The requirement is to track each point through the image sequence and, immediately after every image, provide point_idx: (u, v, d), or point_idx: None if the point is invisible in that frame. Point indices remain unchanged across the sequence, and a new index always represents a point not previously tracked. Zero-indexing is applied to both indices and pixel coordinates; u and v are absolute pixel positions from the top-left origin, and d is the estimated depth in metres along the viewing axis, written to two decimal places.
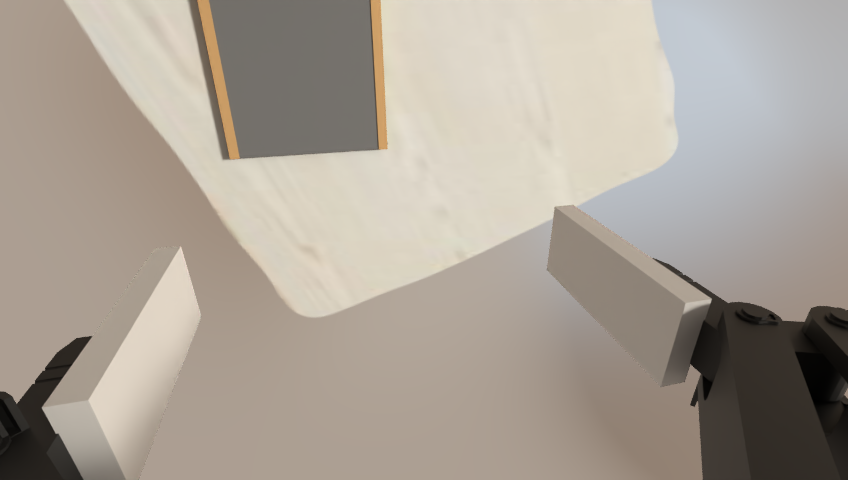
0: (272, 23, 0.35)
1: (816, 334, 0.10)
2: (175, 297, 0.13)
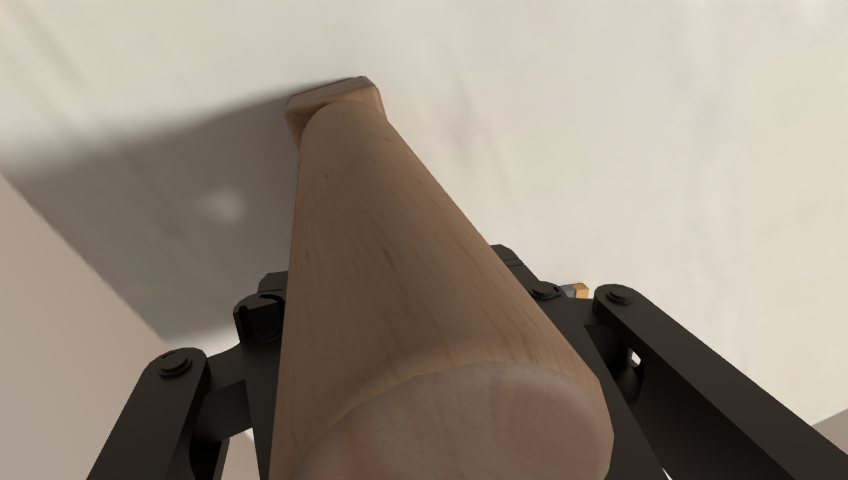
0: None
1: (605, 315, 0.11)
2: None
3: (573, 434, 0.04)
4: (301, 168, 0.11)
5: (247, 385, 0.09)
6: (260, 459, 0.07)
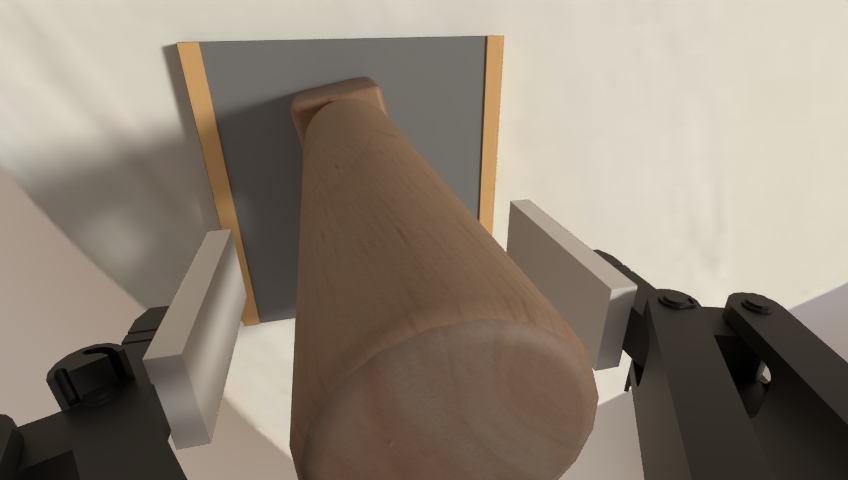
0: None
1: (736, 321, 0.11)
2: (229, 275, 0.14)
3: (563, 390, 0.05)
4: (308, 160, 0.12)
5: (78, 464, 0.07)
6: None
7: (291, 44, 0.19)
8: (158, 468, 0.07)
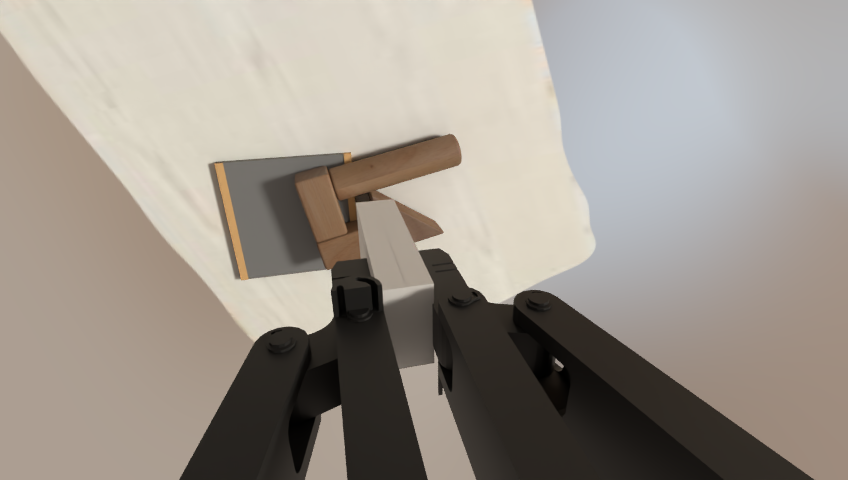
0: (272, 189, 0.48)
1: (526, 324, 0.11)
2: None
3: None
4: (380, 163, 0.46)
5: (338, 359, 0.09)
6: (346, 429, 0.08)
7: (259, 161, 0.46)
8: (389, 386, 0.08)
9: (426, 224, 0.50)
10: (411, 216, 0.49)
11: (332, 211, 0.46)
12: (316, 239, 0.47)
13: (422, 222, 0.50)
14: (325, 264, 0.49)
